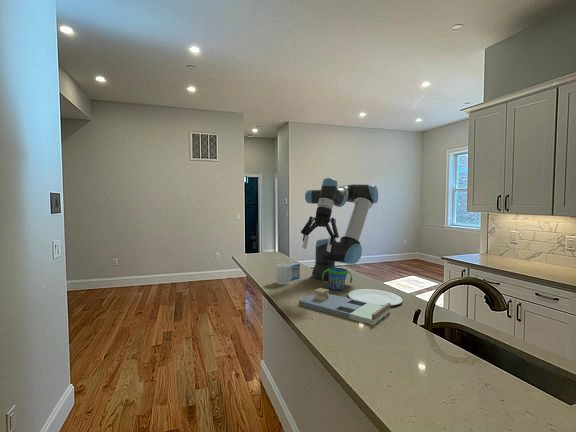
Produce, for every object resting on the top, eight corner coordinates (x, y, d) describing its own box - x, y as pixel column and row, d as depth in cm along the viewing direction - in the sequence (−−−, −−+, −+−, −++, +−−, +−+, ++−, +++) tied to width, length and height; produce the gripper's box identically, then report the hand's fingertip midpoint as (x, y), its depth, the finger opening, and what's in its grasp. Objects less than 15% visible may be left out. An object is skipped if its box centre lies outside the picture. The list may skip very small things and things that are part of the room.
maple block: (319, 296, 145) (319, 287, 145) (328, 298, 143) (328, 289, 143) (314, 298, 142) (314, 290, 142) (323, 301, 139) (323, 292, 139)
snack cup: (350, 286, 171) (351, 268, 171) (352, 292, 161) (353, 272, 160) (321, 285, 173) (322, 266, 172) (321, 290, 162) (322, 270, 162)
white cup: (283, 280, 180) (283, 263, 179) (293, 283, 174) (293, 265, 173) (272, 283, 174) (273, 264, 173) (282, 286, 168) (283, 267, 168)
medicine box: (291, 280, 180) (292, 265, 180) (285, 279, 183) (285, 264, 183) (299, 278, 187) (300, 263, 186) (293, 277, 189) (294, 262, 189)
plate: (341, 302, 145) (341, 299, 145) (354, 289, 168) (354, 286, 168) (399, 312, 134) (399, 308, 134) (405, 297, 157) (405, 293, 157)
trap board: (319, 295, 153) (320, 287, 153) (390, 312, 133) (390, 303, 133) (298, 305, 139) (299, 296, 138) (374, 325, 119) (374, 314, 118)
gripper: (300, 205, 163) (290, 245, 158) (344, 206, 148) (335, 251, 144) (307, 209, 169) (298, 248, 164) (350, 212, 154) (342, 254, 150)
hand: (315, 250), depth 154 cm, fingers open, 13 cm apart
